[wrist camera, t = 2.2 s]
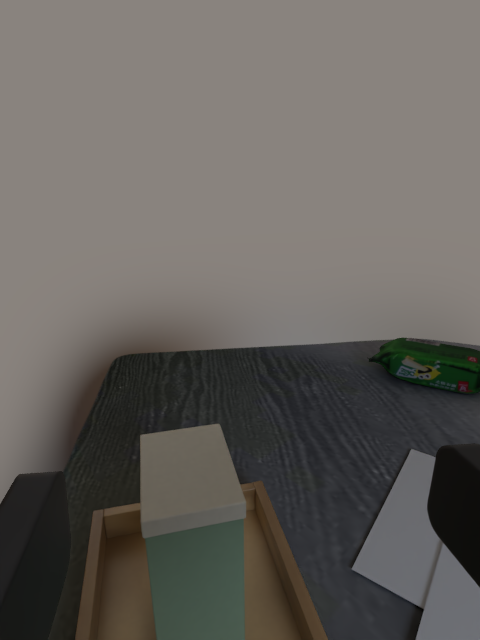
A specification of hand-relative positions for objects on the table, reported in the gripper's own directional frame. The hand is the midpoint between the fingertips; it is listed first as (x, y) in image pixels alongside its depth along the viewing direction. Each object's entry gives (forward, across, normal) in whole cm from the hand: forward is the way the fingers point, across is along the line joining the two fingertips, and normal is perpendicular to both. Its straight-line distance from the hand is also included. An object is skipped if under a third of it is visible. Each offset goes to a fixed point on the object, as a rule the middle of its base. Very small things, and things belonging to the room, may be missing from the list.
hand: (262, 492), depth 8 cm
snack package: (+40, -34, +16) cm, 54 cm away
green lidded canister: (+12, +1, +19) cm, 23 cm away
